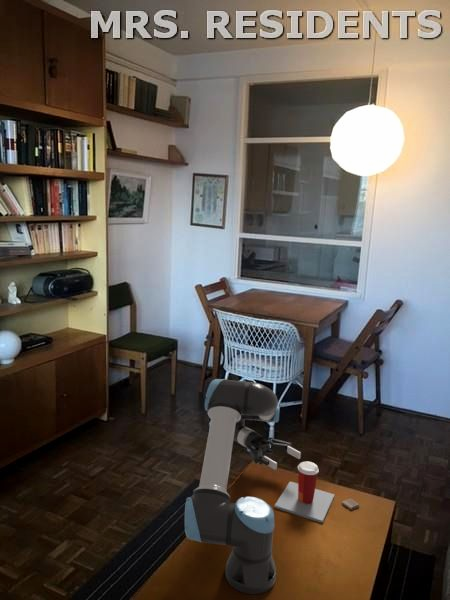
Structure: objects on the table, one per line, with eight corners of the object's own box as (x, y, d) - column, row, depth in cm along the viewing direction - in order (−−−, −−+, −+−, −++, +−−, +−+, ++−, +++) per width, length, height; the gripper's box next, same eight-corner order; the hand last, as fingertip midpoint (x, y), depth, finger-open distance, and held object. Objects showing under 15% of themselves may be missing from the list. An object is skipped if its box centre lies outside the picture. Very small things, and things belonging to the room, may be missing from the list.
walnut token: (350, 511, 181) (350, 507, 181) (341, 505, 185) (342, 501, 184) (359, 507, 183) (359, 504, 183) (350, 501, 187) (350, 497, 187)
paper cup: (319, 498, 186) (322, 464, 183) (311, 508, 179) (314, 474, 176) (300, 491, 190) (302, 458, 187) (291, 500, 183) (294, 467, 180)
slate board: (322, 523, 173) (322, 520, 173) (274, 507, 180) (274, 505, 180) (334, 496, 189) (334, 494, 189) (289, 483, 196) (289, 481, 196)
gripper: (270, 439, 214) (308, 460, 198) (227, 456, 198) (264, 480, 182) (272, 423, 212) (309, 443, 197) (228, 439, 196) (266, 461, 181)
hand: (288, 461), depth 189 cm, fingers open, 13 cm apart
